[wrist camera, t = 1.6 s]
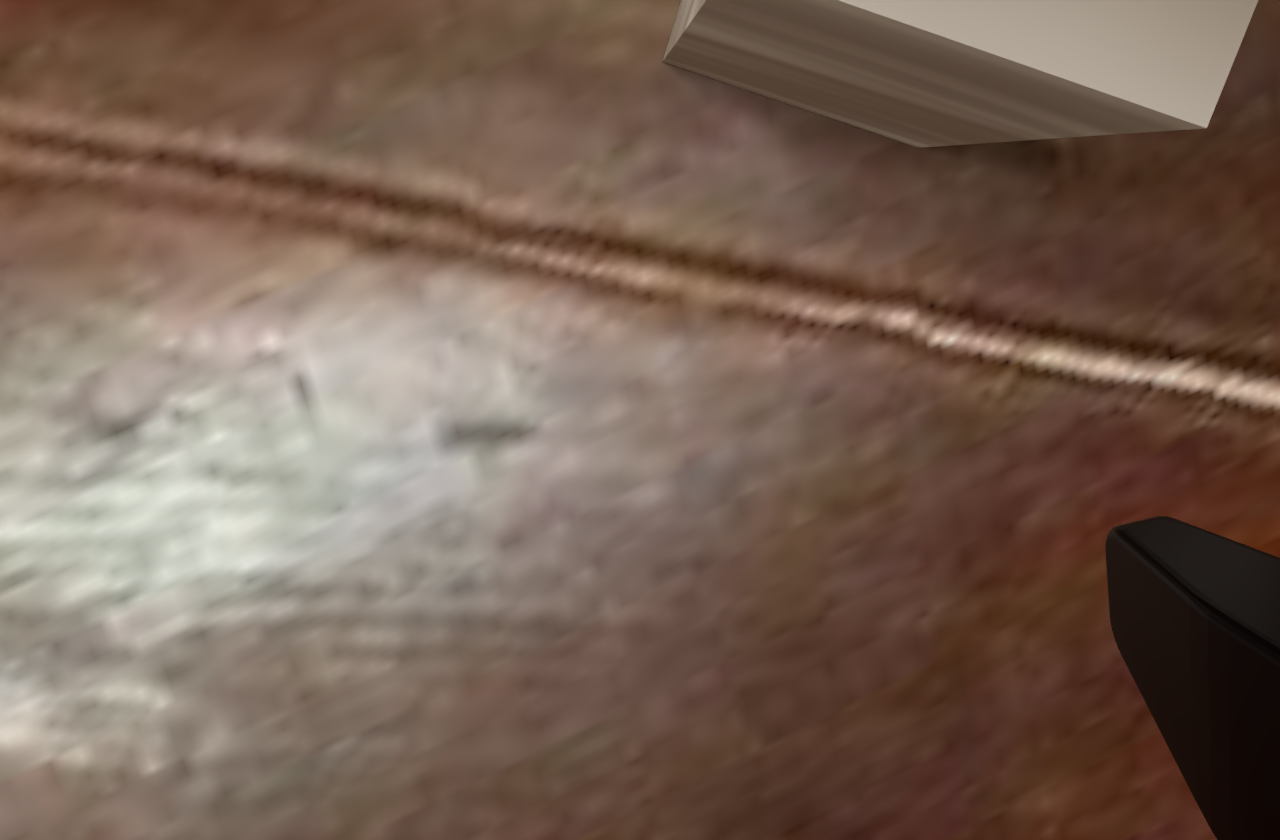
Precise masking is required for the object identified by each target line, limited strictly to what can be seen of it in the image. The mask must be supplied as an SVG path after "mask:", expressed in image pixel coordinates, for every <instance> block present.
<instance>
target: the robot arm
mask: <svg viewBox="0 0 1280 840" xmlns="http://www.w3.org/2000/svg"><path fill="white" fill-rule="evenodd" d="M1106 565H1107V580H1108V595H1109V611H1110V622H1111V627H1112V631H1113V635H1114V638H1115V641H1116V643H1117V646H1118V649H1119V651H1120V653H1121V655H1122V657H1123V659H1124V661H1125V663H1126V665H1127V667H1128V669H1129V671H1130V673H1131V675H1132V677H1133V679H1134V681H1135V683H1136V685H1137V686H1138V688H1139V690H1140V692H1141V694H1142V696H1143V698H1144V700H1145V702H1146V704H1147V706H1148V708H1149V710H1150V712H1151V714H1152V716H1153V718H1154V720H1155V722H1156V724H1157V726H1158V728H1159V730H1160V732H1161V734H1162V736H1163V738H1164V740H1165V741H1166V743H1167V745H1168V747H1169V749H1170V751H1171V753H1172V755H1173V757H1174V759H1175V761H1176V763H1177V765H1178V767H1179V769H1180V771H1181V773H1182V775H1183V777H1184V779H1185V781H1186V783H1187V785H1188V787H1189V789H1190V791H1191V793H1192V795H1193V797H1194V798H1195V800H1196V802H1197V804H1198V806H1199V808H1200V810H1201V812H1202V813H1203V815H1204V817H1205V819H1206V821H1207V823H1208V825H1209V826H1210V828H1211V830H1212V832H1213V833H1214V835H1215V837H1216V838H1217V840H1280V558H1279V557H1276V556H1273V555H1271V554H1268V553H1265V552H1263V551H1260V550H1257V549H1255V548H1252V547H1249V546H1247V545H1244V544H1241V543H1239V542H1236V541H1233V540H1231V539H1228V538H1225V537H1223V536H1220V535H1217V534H1215V533H1212V532H1209V531H1206V530H1204V529H1201V528H1198V527H1196V526H1193V525H1190V524H1188V523H1185V522H1182V521H1180V520H1177V519H1174V518H1171V517H1167V516H1158V517H1153V518H1149V519H1145V520H1140V521H1136V522H1132V523H1127V524H1123V525H1119V526H1116V527H1113V528H1112V530H1111V531H1110V532H1109V533H1108V535H1107V539H1106Z"/></svg>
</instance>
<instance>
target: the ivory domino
mask: <svg viewBox="0 0 1280 840" xmlns="http://www.w3.org/2000/svg"><path fill="white" fill-rule="evenodd" d="M1257 2H1258V0H681V3H680V6H679V9H678V13H677V16H676V19H675V22H674V26H673V29H672V32H671V35H670V39H669V42H668V45H667V49H666V52H665V55H664V58H663V62H664V63H667V64H670V65H673V66H676V67H679V68H682V69H685V70H688V71H691V72H694V73H697V74H700V75H703V76H706V77H709V78H712V79H715V80H718V81H721V82H724V83H727V84H730V85H733V86H736V87H739V88H741V89H744V90H747V91H750V92H753V93H756V94H759V95H762V96H765V97H768V98H771V99H774V100H777V101H780V102H783V103H786V104H789V105H792V106H795V107H798V108H801V109H804V110H807V111H810V112H813V113H816V114H819V115H822V116H825V117H828V118H831V119H834V120H837V121H840V122H843V123H846V124H849V125H852V126H855V127H858V128H861V129H864V130H867V131H870V132H873V133H876V134H879V135H882V136H885V137H888V138H891V139H894V140H897V141H900V142H903V143H906V144H909V145H912V146H915V147H918V148H922V147H937V146H952V145H967V144H982V143H996V142H1011V141H1026V140H1041V139H1056V138H1070V137H1085V136H1100V135H1115V134H1130V133H1145V132H1159V131H1174V130H1189V129H1204V128H1207V126H1208V124H1209V121H1210V119H1211V116H1212V114H1213V112H1214V109H1215V107H1216V104H1217V102H1218V99H1219V97H1220V94H1221V92H1222V89H1223V87H1224V84H1225V82H1226V79H1227V77H1228V74H1229V72H1230V69H1231V67H1232V64H1233V62H1234V59H1235V57H1236V54H1237V52H1238V49H1239V47H1240V45H1241V42H1242V40H1243V37H1244V35H1245V32H1246V30H1247V27H1248V25H1249V22H1250V20H1251V17H1252V15H1253V12H1254V10H1255V7H1256V5H1257Z"/></svg>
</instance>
